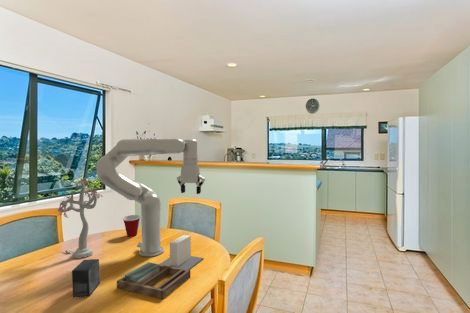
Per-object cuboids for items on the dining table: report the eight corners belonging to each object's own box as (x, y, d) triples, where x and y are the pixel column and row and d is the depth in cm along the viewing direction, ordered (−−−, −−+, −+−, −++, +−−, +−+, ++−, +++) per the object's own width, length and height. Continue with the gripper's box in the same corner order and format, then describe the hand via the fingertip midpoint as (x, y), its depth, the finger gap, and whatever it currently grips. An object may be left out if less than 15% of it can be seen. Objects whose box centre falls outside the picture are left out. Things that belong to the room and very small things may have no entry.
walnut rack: (116, 288, 114) (116, 280, 114) (148, 269, 132) (148, 262, 132) (163, 299, 106) (163, 291, 106) (190, 276, 123) (190, 270, 123)
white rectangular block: (170, 265, 134) (169, 242, 133) (183, 256, 145) (183, 234, 144) (177, 267, 132) (177, 243, 132) (190, 257, 143) (190, 235, 143)
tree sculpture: (38, 259, 143) (36, 179, 142) (78, 244, 165) (76, 175, 164) (81, 267, 134) (79, 181, 133) (117, 249, 156) (116, 176, 155)
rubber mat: (156, 266, 134) (156, 265, 134) (176, 254, 149) (176, 253, 149) (186, 272, 128) (186, 270, 128) (203, 259, 143) (203, 257, 143)
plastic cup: (119, 238, 177) (118, 218, 176) (128, 232, 187) (128, 214, 187) (135, 238, 175) (135, 219, 174) (143, 233, 186) (143, 215, 185)
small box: (84, 284, 118) (83, 259, 117) (100, 283, 118) (100, 258, 118) (71, 297, 107) (70, 270, 107) (89, 297, 108) (89, 269, 107)
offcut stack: (124, 286, 116) (124, 275, 115) (148, 271, 129) (147, 261, 129) (138, 289, 113) (138, 278, 113) (160, 274, 126) (160, 264, 126)
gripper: (173, 162, 157) (173, 193, 158) (201, 162, 151) (201, 195, 151) (180, 161, 164) (181, 191, 165) (207, 161, 158) (207, 193, 158)
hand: (190, 193), depth 158 cm, fingers open, 9 cm apart
